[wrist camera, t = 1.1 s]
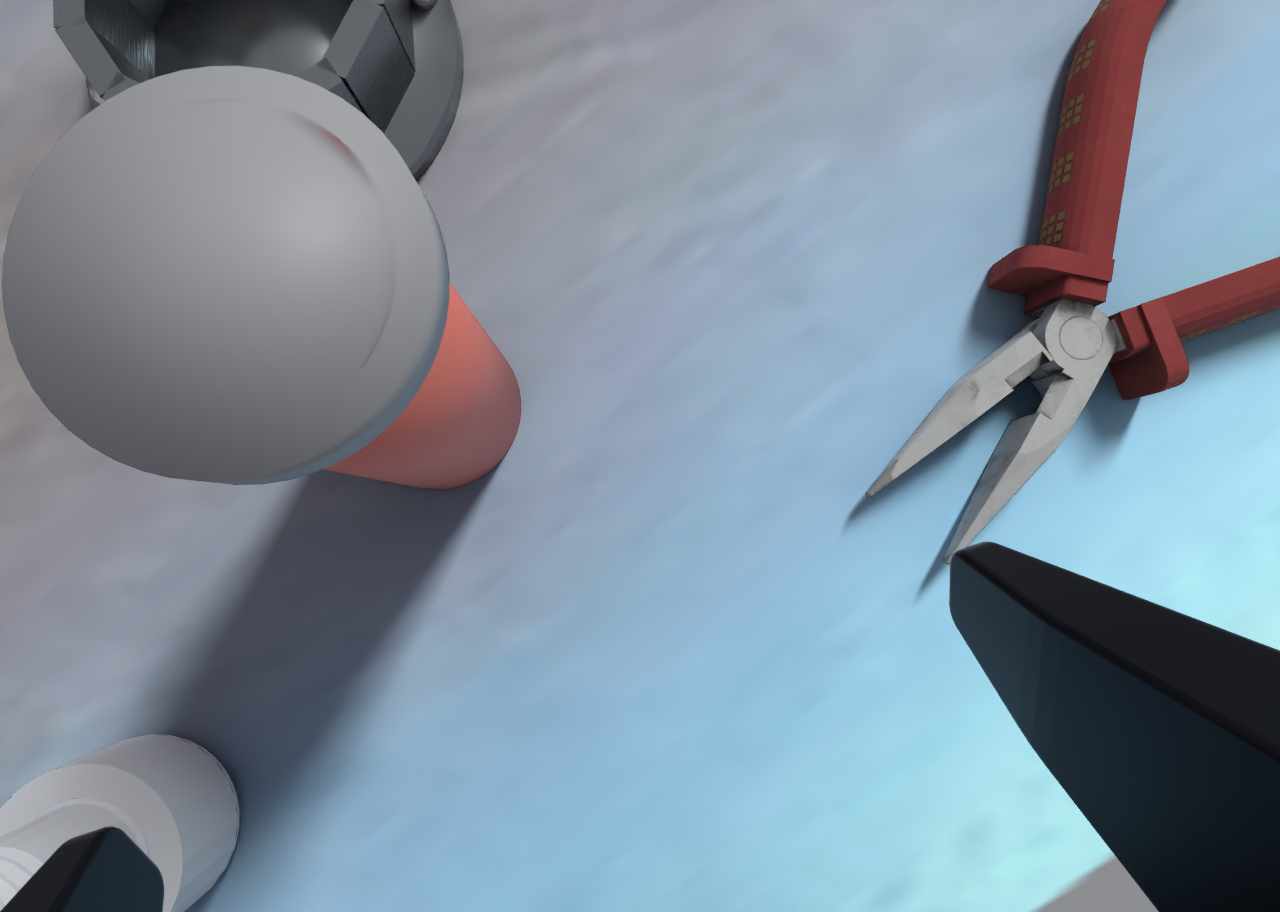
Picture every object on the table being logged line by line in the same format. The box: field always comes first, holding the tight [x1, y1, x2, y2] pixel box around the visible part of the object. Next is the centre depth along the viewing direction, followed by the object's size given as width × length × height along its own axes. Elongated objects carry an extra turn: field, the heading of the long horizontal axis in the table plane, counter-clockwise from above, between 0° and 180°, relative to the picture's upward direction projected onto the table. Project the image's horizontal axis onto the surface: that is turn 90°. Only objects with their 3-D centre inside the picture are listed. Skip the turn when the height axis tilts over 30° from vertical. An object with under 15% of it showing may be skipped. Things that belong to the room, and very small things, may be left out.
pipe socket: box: [53, 0, 463, 180], centre depth 22 cm, size 11×11×4 cm
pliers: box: [865, 0, 1280, 564], centre depth 23 cm, size 12×21×3 cm, turn 138°
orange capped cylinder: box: [2, 66, 521, 489], centre depth 17 cm, size 6×6×12 cm
